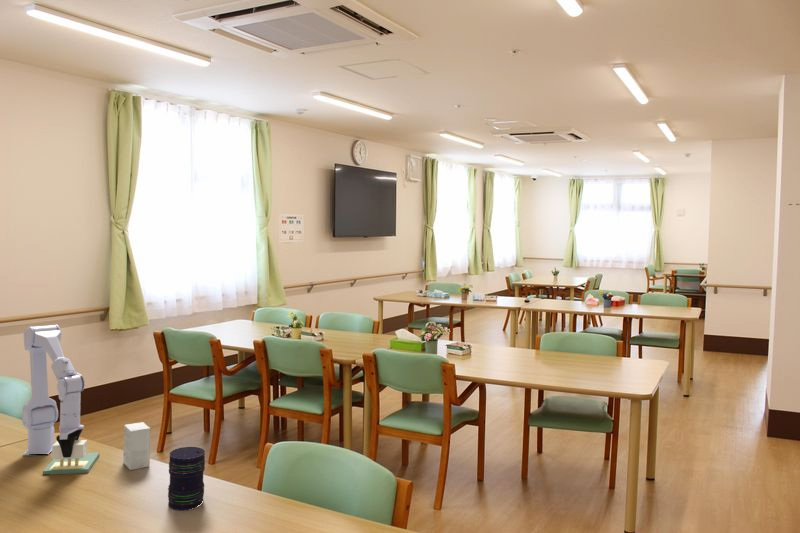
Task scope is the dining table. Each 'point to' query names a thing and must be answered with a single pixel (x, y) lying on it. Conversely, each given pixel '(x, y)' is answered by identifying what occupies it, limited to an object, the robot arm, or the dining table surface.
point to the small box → (136, 445)
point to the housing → (77, 451)
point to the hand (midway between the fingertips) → (69, 454)
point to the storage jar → (186, 478)
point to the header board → (71, 465)
